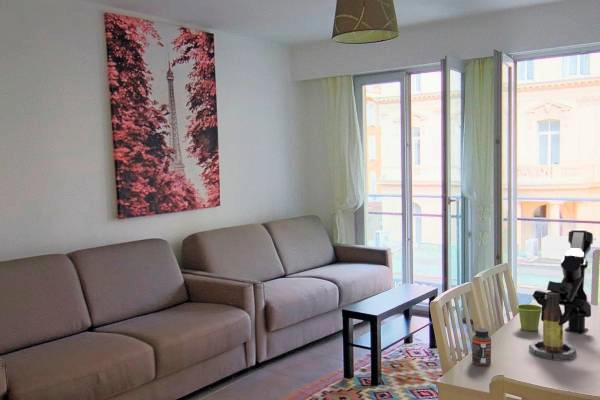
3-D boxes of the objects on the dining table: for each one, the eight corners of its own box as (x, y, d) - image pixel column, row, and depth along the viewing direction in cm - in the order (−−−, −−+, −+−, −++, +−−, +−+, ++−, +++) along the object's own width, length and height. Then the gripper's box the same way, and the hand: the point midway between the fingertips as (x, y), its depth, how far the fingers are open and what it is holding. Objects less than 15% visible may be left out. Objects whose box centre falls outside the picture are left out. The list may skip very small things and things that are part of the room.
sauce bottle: (564, 353, 197) (566, 295, 194) (544, 352, 198) (546, 295, 196) (559, 346, 203) (561, 290, 201) (540, 345, 204) (542, 290, 202)
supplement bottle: (488, 367, 188) (488, 333, 187) (469, 364, 191) (470, 330, 190) (492, 361, 193) (493, 328, 192) (474, 358, 196) (475, 326, 195)
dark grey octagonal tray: (540, 343, 210) (540, 337, 210) (581, 352, 200) (581, 346, 200) (523, 353, 200) (523, 347, 200) (565, 363, 190) (565, 356, 190)
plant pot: (512, 329, 226) (512, 307, 225) (522, 323, 233) (523, 302, 232) (536, 334, 220) (536, 312, 219) (546, 328, 226) (546, 306, 226)
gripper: (535, 267, 208) (516, 303, 203) (586, 277, 192) (567, 316, 187) (548, 285, 213) (530, 321, 208) (598, 296, 198) (580, 334, 192)
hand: (550, 322), depth 199 cm, fingers closed on sauce bottle, 6 cm apart
